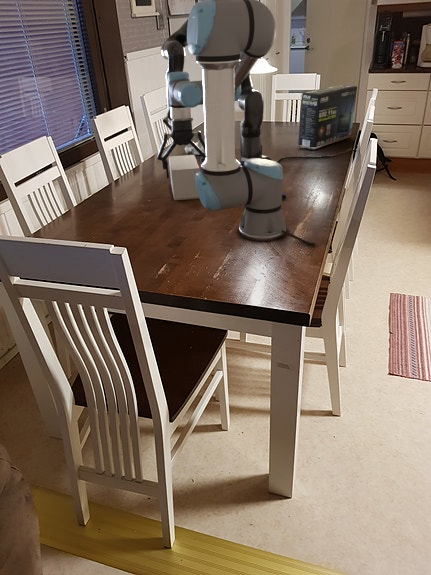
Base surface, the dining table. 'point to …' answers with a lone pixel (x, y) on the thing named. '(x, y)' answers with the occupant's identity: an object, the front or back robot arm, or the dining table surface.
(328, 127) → the router box
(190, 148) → the fossil
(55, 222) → the dining table surface
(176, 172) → the white box
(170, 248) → the dining table surface
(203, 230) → the dining table surface
